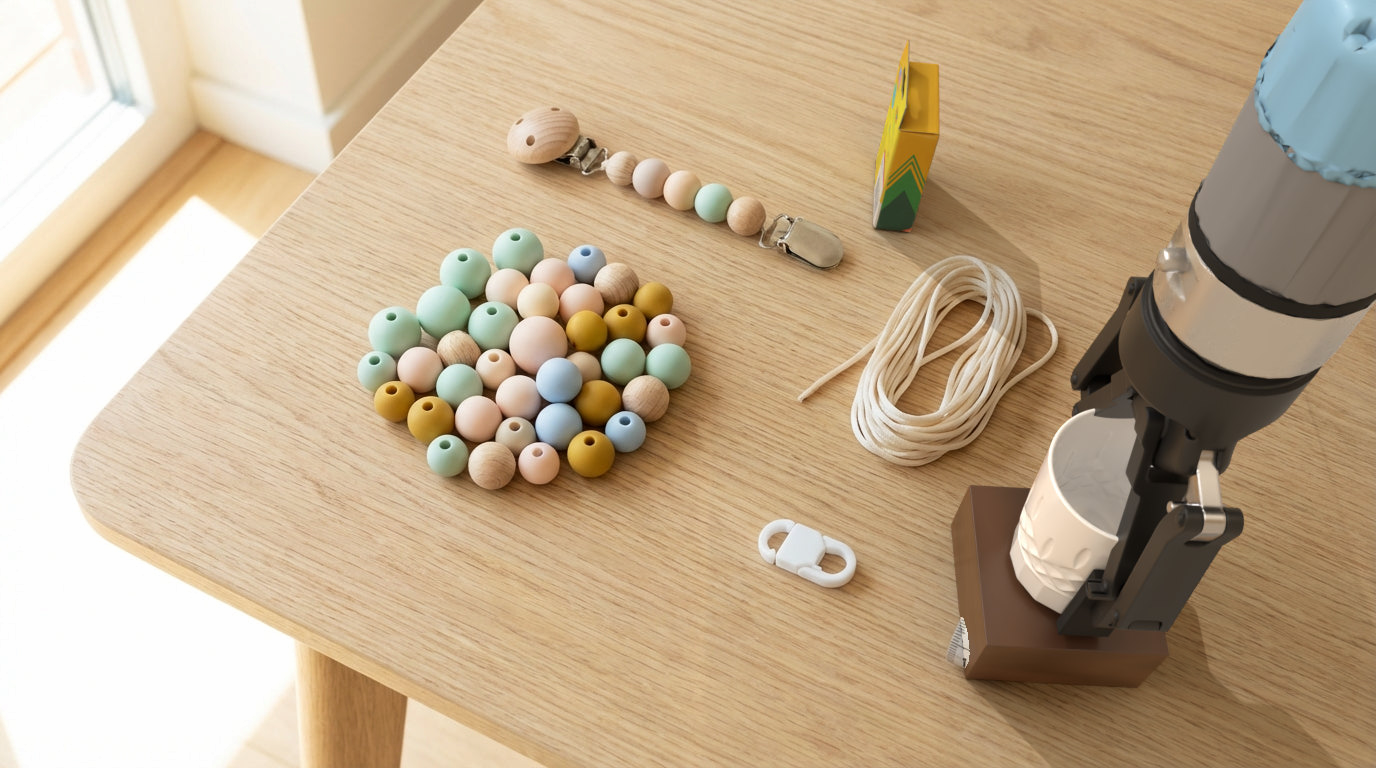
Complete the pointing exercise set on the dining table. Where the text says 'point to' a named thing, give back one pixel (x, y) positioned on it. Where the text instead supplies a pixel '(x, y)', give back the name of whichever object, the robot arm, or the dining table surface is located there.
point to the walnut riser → (1029, 610)
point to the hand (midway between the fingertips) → (1071, 559)
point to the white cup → (1073, 508)
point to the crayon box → (906, 145)
